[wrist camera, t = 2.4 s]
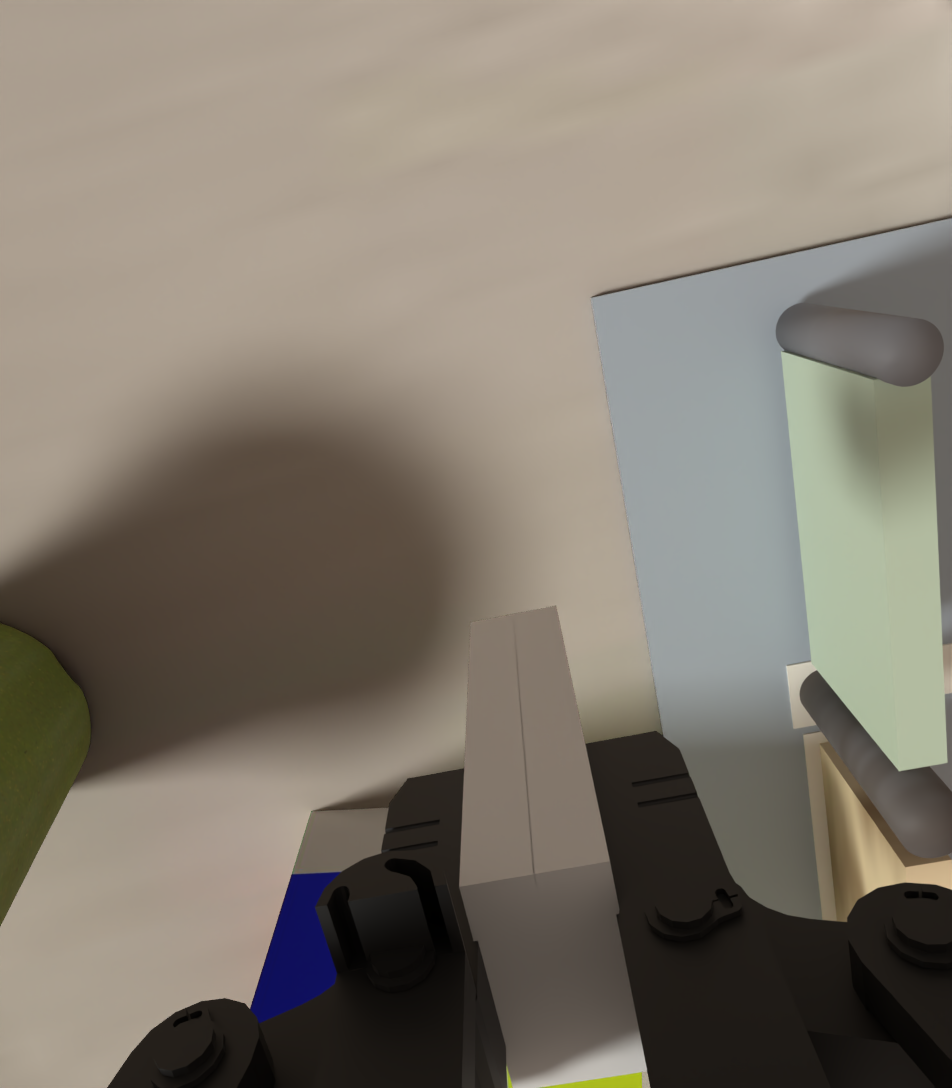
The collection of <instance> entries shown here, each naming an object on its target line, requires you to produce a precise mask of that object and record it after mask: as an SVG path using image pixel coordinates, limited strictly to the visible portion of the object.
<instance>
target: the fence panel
mask: <svg viewBox="0 0 952 1088" xmlns="http://www.w3.org/2000/svg"><path fill="white" fill-rule="evenodd" d="M776 338H777V341H778V343H779V345H780V346H781V347H782V348H783V349H784V351H781V357H782V367H783V377H784V387H785V397H786V408H787V418H788V428H789V438H790V448H791V459H792V469H793V479H794V489H795V499H796V509H797V520H798V530H799V540H800V550H801V560H802V571H803V581H804V591H805V601H806V611H807V621H808V632H809V642H810V652H811V662H812V665H813V666H814V667H815V668H816V669H817V671H818V672H819V673H820V674H821V676H822V677H823V678H824V679H825V681H826V682H827V683H828V684H829V685H830V687H831V688H832V689H833V690H834V692H835V693H836V694H837V695H838V697H839V698H840V699H841V700H842V702H843V703H844V704H845V705H846V706H847V708H848V709H849V710H850V711H851V713H852V714H853V715H854V716H855V718H856V719H857V720H858V721H859V722H860V724H861V725H862V726H863V727H864V729H865V730H866V731H867V732H868V734H869V735H870V736H871V737H872V739H873V740H874V741H875V742H876V743H877V745H878V746H879V747H880V748H881V750H882V751H883V752H884V753H885V755H886V756H887V757H888V758H889V759H890V761H891V762H892V763H893V764H894V766H895V767H896V768H897V769H898V771H904V770H909V769H915V768H921V767H927V766H932V765H938V764H944V763H948V761H947V738H946V715H945V692H944V669H943V646H942V623H941V600H940V577H939V554H938V531H937V508H936V485H935V462H934V438H933V415H932V392H931V375H932V374H933V373H934V372H935V371H936V369H937V368H938V366H939V364H940V362H941V360H942V357H943V352H944V342H943V338H942V335H941V333H940V331H939V330H938V328H937V327H936V326H935V325H934V324H932V323H931V322H929V321H927V320H924V319H918V318H911V317H904V316H897V315H889V314H882V313H875V312H868V311H860V310H853V309H846V308H839V307H831V306H824V305H817V304H810V303H798V304H795V305H793V306H791V307H789V308H788V309H786V310H785V311H784V312H783V313H782V314H781V316H780V317H779V319H778V322H777V325H776Z"/></svg>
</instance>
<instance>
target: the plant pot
mask: <svg viewBox="0 0 952 1088" xmlns="http://www.w3.org/2000/svg"><path fill="white" fill-rule="evenodd" d="M90 739H91V725H90V715H89V710H88V705H87V702H86V699H85V697H84V694H83V692H82V690H81V688H80V687H79V686H78V685H77V684H76V683H75V682H74V681H73V680H72V679H71V678H70V677H69V675H68V674H67V673H66V672H65V670H64V669H63V668H62V666H61V665H60V664H59V662H58V661H57V659H56V658H55V656H54V655H53V653H52V652H51V651H50V649H48V648H47V647H46V646H44V645H43V644H42V643H40V642H39V641H37V640H36V639H34V638H33V637H31V636H29V635H28V634H26V633H23V632H21V631H19V630H17V629H15V628H13V627H10V626H7V625H4V624H1V623H0V926H1V924H2V922H3V920H4V918H5V916H6V914H7V912H8V910H9V908H10V906H11V904H12V902H13V900H14V898H15V896H16V894H17V892H18V890H19V888H20V886H21V884H22V882H23V881H24V879H25V877H26V875H27V873H28V871H29V869H30V867H31V865H32V863H33V861H34V859H35V857H36V855H37V853H38V851H39V849H40V847H41V845H42V843H43V841H44V839H45V837H46V835H47V833H48V831H49V829H50V827H51V825H52V823H53V822H54V820H55V818H56V816H57V814H58V812H59V810H60V808H61V806H62V804H63V802H64V800H65V798H66V796H67V794H68V792H69V790H70V788H71V786H72V784H73V782H74V780H75V778H76V777H77V775H78V773H79V771H80V769H81V766H82V764H83V762H84V760H85V758H86V755H87V752H88V749H89V745H90Z"/></svg>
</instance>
